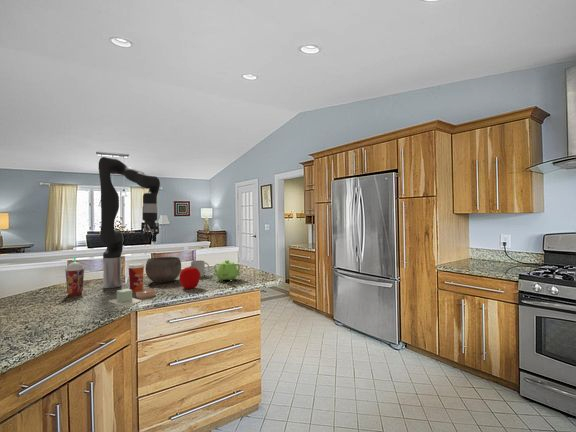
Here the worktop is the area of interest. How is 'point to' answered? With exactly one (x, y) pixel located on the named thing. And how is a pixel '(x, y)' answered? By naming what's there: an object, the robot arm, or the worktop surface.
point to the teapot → (227, 270)
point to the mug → (200, 266)
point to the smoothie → (74, 278)
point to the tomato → (189, 277)
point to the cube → (124, 295)
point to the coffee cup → (136, 276)
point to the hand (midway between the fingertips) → (149, 241)
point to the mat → (124, 302)
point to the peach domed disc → (145, 293)
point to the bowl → (163, 268)
